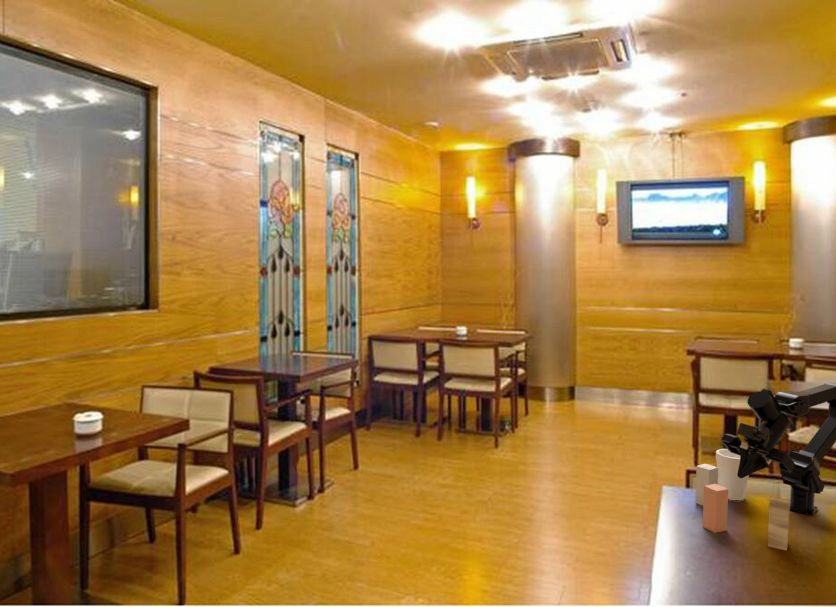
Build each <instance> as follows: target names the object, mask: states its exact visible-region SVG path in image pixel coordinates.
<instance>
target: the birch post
mask: <svg viewBox="0 0 836 607" xmlns="http://www.w3.org/2000/svg"><path fill="white" fill-rule="evenodd" d="M768 508H769V509H768V511H769V512H768V531H767V534H768V535H767V547H770V548H773V549H778V550H784V551H787V549H788V545H789V529H790V510H789V509H790V499H789V500H788V499H783V498H777V497H773V496H771V497H770V500H769V507H768Z"/></svg>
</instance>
